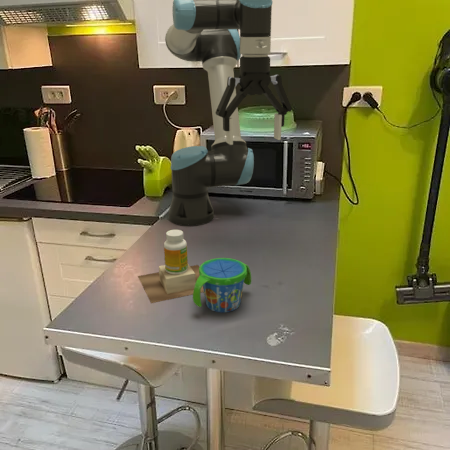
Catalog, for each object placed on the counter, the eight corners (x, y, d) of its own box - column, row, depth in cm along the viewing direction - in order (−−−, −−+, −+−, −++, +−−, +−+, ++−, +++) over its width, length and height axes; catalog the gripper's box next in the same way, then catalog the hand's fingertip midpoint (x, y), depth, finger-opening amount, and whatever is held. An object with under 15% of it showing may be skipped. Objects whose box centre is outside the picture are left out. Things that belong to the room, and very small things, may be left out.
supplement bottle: (184, 276, 113) (182, 238, 110) (162, 274, 114) (159, 236, 111) (190, 265, 118) (188, 229, 114) (169, 263, 119) (167, 227, 115)
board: (138, 280, 122) (137, 276, 122) (198, 268, 128) (197, 264, 127) (151, 307, 110) (151, 303, 110) (216, 293, 116) (216, 289, 115)
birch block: (159, 280, 120) (158, 266, 118) (186, 275, 122) (186, 261, 120) (167, 294, 114) (166, 278, 112) (195, 288, 116) (195, 273, 114)
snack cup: (237, 288, 118) (237, 250, 114) (264, 306, 110) (265, 266, 106) (182, 308, 110) (179, 268, 106) (207, 330, 102) (206, 287, 98)
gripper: (211, 58, 111) (213, 148, 120) (307, 54, 119) (303, 140, 127) (201, 56, 118) (204, 142, 126) (293, 53, 126) (289, 134, 134)
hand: (253, 141), depth 127 cm, fingers open, 13 cm apart
